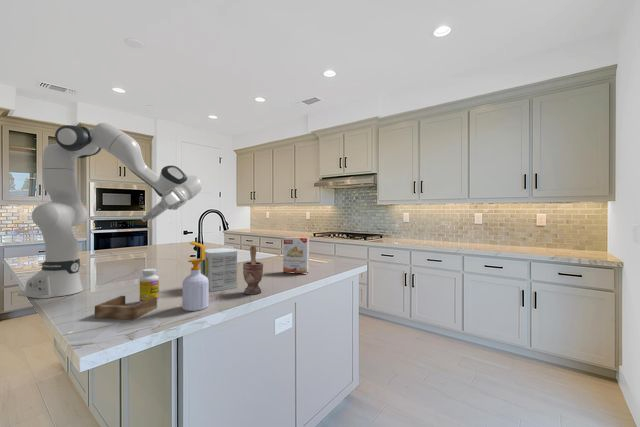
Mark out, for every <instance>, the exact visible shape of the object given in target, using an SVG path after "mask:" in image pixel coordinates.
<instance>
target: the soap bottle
mask: <svg viewBox="0 0 640 427" xmlns="http://www.w3.org/2000/svg"><path fill="white" fill-rule="evenodd" d="M189 244H190V245H193V246H196V247H198V248H200V250H201V259H200V258H199V259H197V258H196V259H194V258H193V259H192V258H191V259H189V260H187V261H188V263H191V265H193V267H191V268H190V274H189V275H188V276H186V277H185V278H183V281H182V290H181V292H182V298H181V299H182V300H181V301H182V303H181V304H182V305H181V306H182V307H181V308H182V309H183V311H187V312H195V311H196V312H197V311H202V310H205V309H207V308H208V307H209V297H210V296H209V293H210V292H209V281H208V278H207V277H205V276H204V275H202V274H201V273H200V266H199V265H200V262H201V261H203V260H204V259H205V250H206V246H205V244H202V243H200V242H196V241H191V242H189Z"/></svg>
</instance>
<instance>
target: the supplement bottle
mask: <svg viewBox="0 0 640 427" xmlns="http://www.w3.org/2000/svg"><path fill="white" fill-rule="evenodd" d="M156 273H157V268H144V269H142V276H141V277H140V278H139V303H141V302H143V301H145V300H147V299H150V298H152V297H157V303H158V302H159V300H160V299H159V298H160V294H159V293H160V291H159V290H160V286H159V285H160V277H159V276H158V275H157V274H156Z"/></svg>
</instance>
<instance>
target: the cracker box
mask: <svg viewBox="0 0 640 427" xmlns="http://www.w3.org/2000/svg"><path fill="white" fill-rule="evenodd" d="M282 256H283V262H282V263H283V264H282V270H283V271H282V273H283V272H294V273H307V272H308V271H309V269H310V266H309V265H310V237H309V236H308V237H307V236H304V237H303V236H284V237H283V255H282ZM308 273H309V272H308ZM308 273H307V274H308Z"/></svg>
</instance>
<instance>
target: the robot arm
mask: <svg viewBox="0 0 640 427" xmlns="http://www.w3.org/2000/svg"><path fill="white" fill-rule="evenodd" d="M54 139H55V142H56V143H50V144H48V145H46V146H45V148H44V149H43V152H42V163H41V164H42V165H41V167H42V168H41V170H42V172H41V173H42V182H43V184H42V185H43V189H44V191H46V193H47V194H48V196H49V198H50V200H51V201H50V202H46V203H42V204H39V205H37V206H36V207H35V208H33V210H32V211H31V212H32V213H31V220H32V221H33V223H34V224H35V225H36V226H37V227H38V228H39V230H40V232H41V235H42V237H43V241H44V249H45V250H44V255H45V256H44V257H45V260H44V262H39V263H38V264H39V267H41V268H40V270H39V271H38V272H37V273H35V274H34V275H32V276H31V277H30V278H28V279H27V280H26V284H25V289H24V290H22V291H19V292H18V293H17V296H19V297H24V298H31V299H32V298H34V299H42V300H43V299H48V298H54V297H62V296H69V295H74V294H77V293H80V292H83V290H84V288H83V284H82V280H81V273H80V267H81V264H80V263H81V260H80V258H79V240H78V238H76V237H75V235H74V232H73V229H72V228H74V227H77V226H79V225H81V224H84V223H85V222H86V220H87V219H88V217H89V212H88V210H87V208H86V207H85V206H84V204H83V202H82V200H81V196H80V193H79V190H78V183H77V182H78V181H77V171H76V170H77V168H76V161H77V159H85V158H87V157H92V156H95V155H97V154H99V153H100V152H101V150H104V151H106V152H107V153H109V154H111V155H112V156H114V157H115V158H116V159H118V160H119V161H120V162H121V163H122V164H123V165H124V166H125V167H126V168H127V169H128V170H129V171H130V172H131V173H133V174H134V175H135V176H136V177H138V178H139V179H140V180H142V181H143V182H144V183H145V184H147V185H148V186H149V187H150V188H152V189H153V190H154V193H156V194H157V195H158V196H159V197H161V198H160V201H159V202H158V203H157V204H156V205H155V206H153V207H152V208H151V209H150V210H149V211H148V212H146V214H145V216H143V217H142V218H141V221H142V222H143V223H146V222H147V221H149V220H151V221H153V220H154V219H155V218H157V217H158V216H160V215H161V214H162V213H164V212H165V211H167V210H172V211H175V210H179V208H181V207H182V206H184V205H185V204H186V203H187V202H188V201H190V200H193V198H195V197H196V196H197V195H198V194H199V193H200V192H201V191H202V188H203V187H202V186H203V184H202V182H201V180H200V178H198V177H197V176H196V175H193V174H192V175H191V174H188V173H186V172H184V171H183V170H182V169H181V168H179V167H178V166H175V165H166V166H163V167H162V169H161V171H160V173H159V174H157V173H156V172H155V171H153V170H152V169H151V168H150V167H149V166H147V164H146V163H145V161H144V158H143V153H142V149H141V146H140V144H139V143H138V142H137V141H136V140H135V138H133V137H132V136H130V135H129V134H127V133H125V132H124V131H123V130H121V129H119V128H117V127H116V126H113V125H111V124H109V123H106V122H105V123H104V122H100V123H97V124H96V125H95V126H93V127H92V128H91V129H89V128H88V127H86V126H80V125H79V126H78V125H71V124H69V125H68V124H67V125H62V126H60V127H58V128H57V130H55V134H54Z"/></svg>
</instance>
